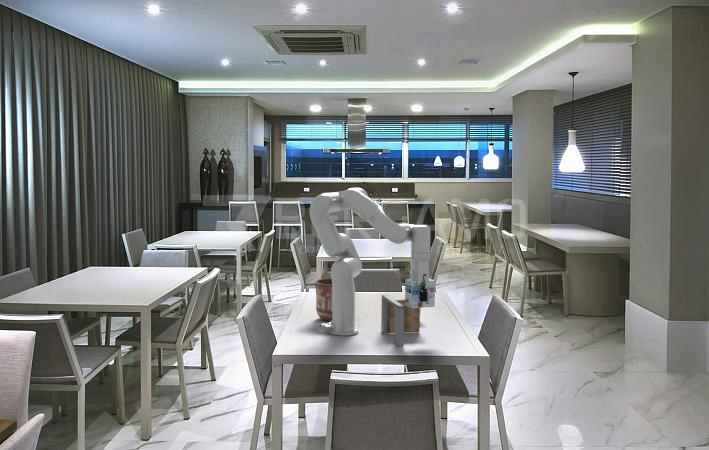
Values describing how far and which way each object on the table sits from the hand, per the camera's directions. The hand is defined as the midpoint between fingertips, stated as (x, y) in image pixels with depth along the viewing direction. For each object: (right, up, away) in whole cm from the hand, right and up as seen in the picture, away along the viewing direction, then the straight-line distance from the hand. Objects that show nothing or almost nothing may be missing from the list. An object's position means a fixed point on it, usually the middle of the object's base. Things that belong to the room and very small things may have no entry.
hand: (419, 299), depth 246 cm
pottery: (-36, -14, +36) cm, 52 cm away
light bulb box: (0, -3, 0) cm, 3 cm away
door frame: (-11, -17, +5) cm, 21 cm away
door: (-6, -16, +12) cm, 21 cm away
